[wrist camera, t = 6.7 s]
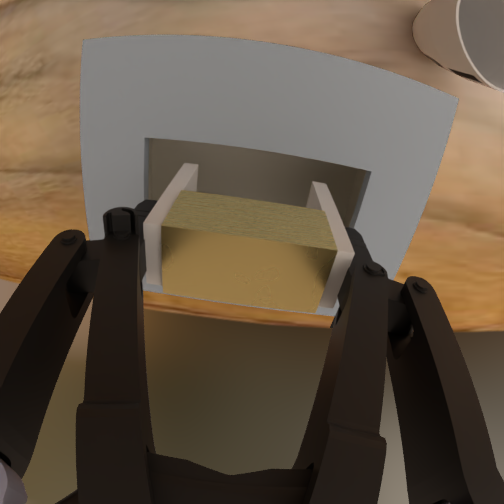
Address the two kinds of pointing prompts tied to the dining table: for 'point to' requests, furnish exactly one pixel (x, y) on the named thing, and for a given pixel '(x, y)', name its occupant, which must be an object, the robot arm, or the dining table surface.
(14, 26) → the dining table surface
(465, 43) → the cup
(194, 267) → the yellow wooden brick
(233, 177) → the box
